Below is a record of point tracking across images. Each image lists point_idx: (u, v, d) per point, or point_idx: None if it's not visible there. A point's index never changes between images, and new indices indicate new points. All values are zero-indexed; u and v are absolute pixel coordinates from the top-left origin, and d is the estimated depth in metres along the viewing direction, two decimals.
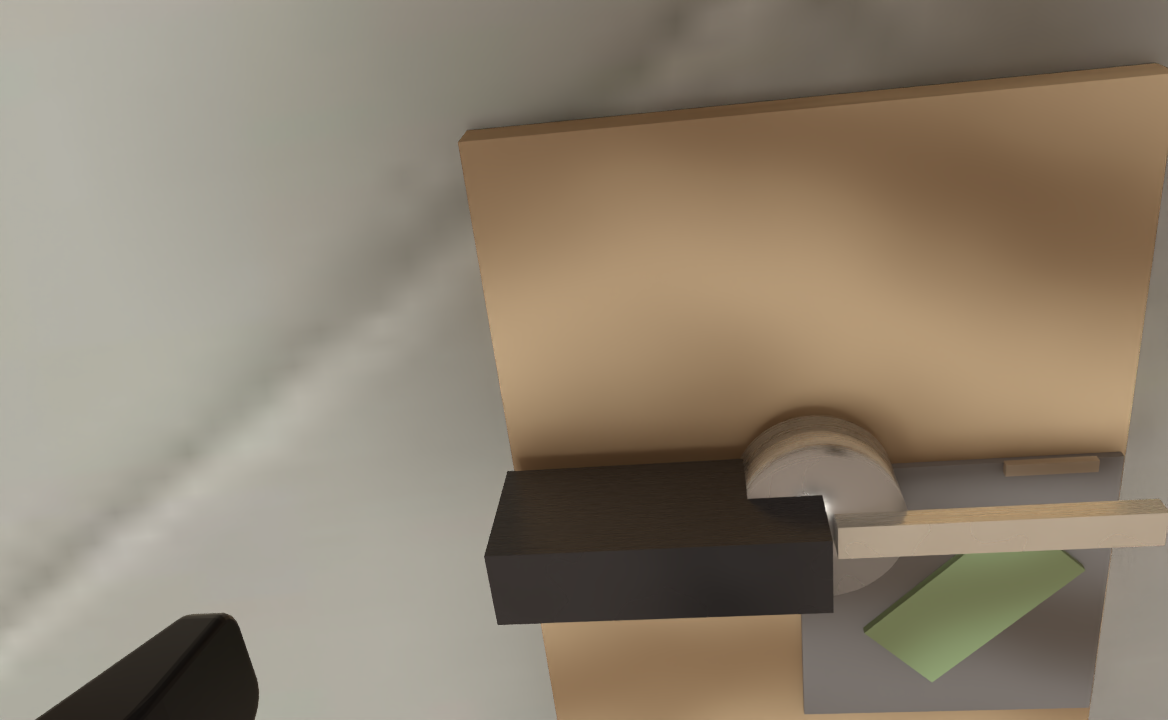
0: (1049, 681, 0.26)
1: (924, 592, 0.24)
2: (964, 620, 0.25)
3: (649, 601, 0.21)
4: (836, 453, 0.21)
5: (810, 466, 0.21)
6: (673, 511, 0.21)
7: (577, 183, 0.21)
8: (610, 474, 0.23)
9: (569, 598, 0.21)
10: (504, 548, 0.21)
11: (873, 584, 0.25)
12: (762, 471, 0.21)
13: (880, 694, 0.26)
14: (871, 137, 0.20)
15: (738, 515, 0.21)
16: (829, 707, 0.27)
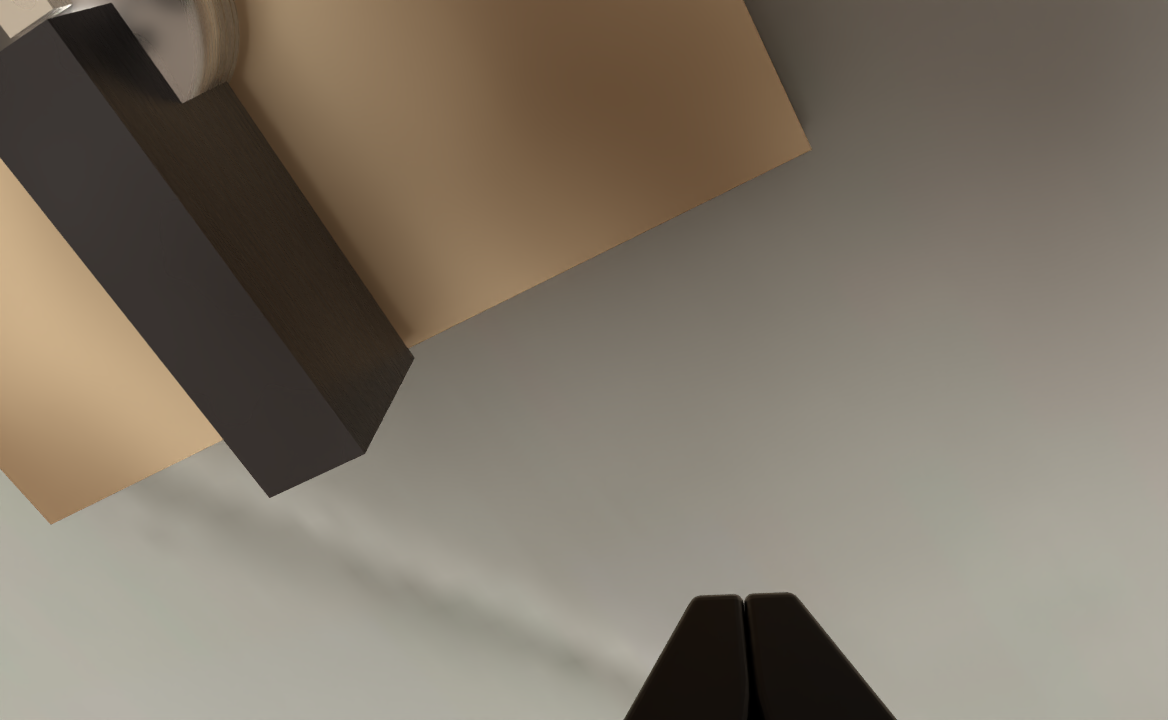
0: None
1: None
2: None
3: (203, 284, 0.14)
4: None
5: None
6: None
7: (10, 416, 0.20)
8: None
9: (266, 384, 0.15)
10: None
11: None
12: None
13: None
14: None
15: None
16: None
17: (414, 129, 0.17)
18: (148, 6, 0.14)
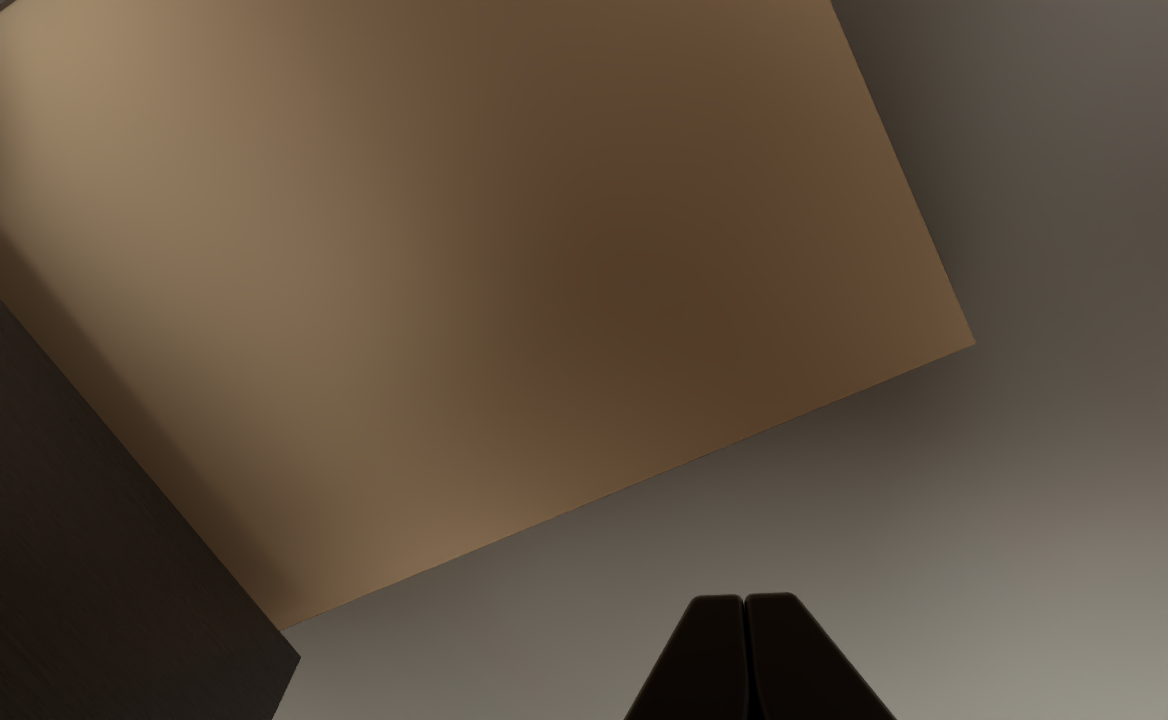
0: None
1: None
2: None
3: None
4: None
5: None
6: None
7: None
8: None
9: None
10: None
11: None
12: None
13: None
14: None
15: None
16: None
17: (288, 301, 0.10)
18: None
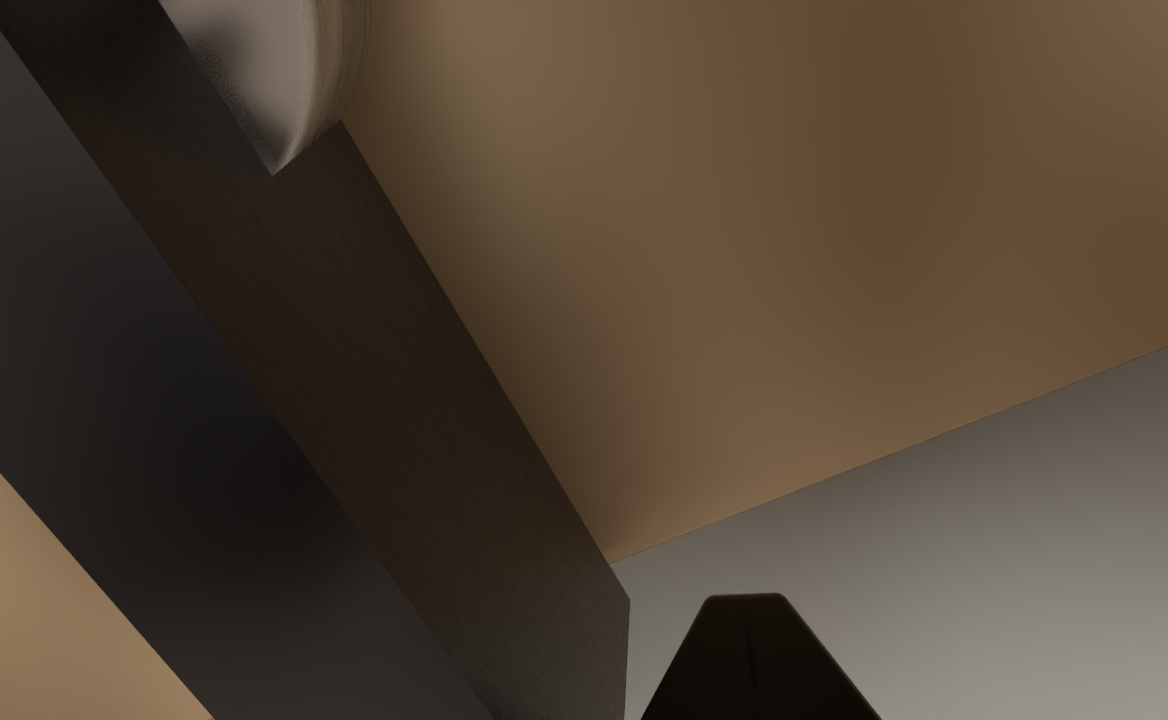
0: None
1: None
2: None
3: (317, 586, 0.06)
4: None
5: None
6: None
7: None
8: None
9: None
10: None
11: None
12: None
13: None
14: None
15: None
16: None
17: (679, 200, 0.09)
18: None
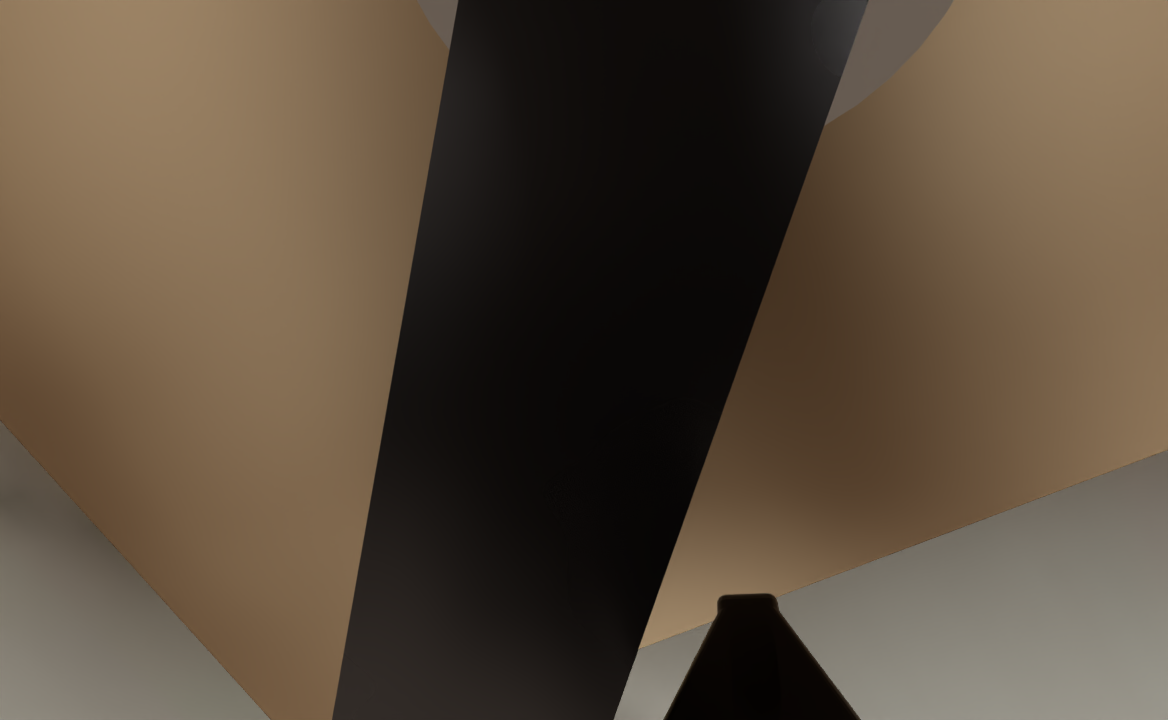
0: None
1: None
2: None
3: (588, 553, 0.06)
4: None
5: None
6: None
7: (273, 607, 0.11)
8: None
9: None
10: None
11: None
12: None
13: None
14: None
15: None
16: None
17: None
18: None
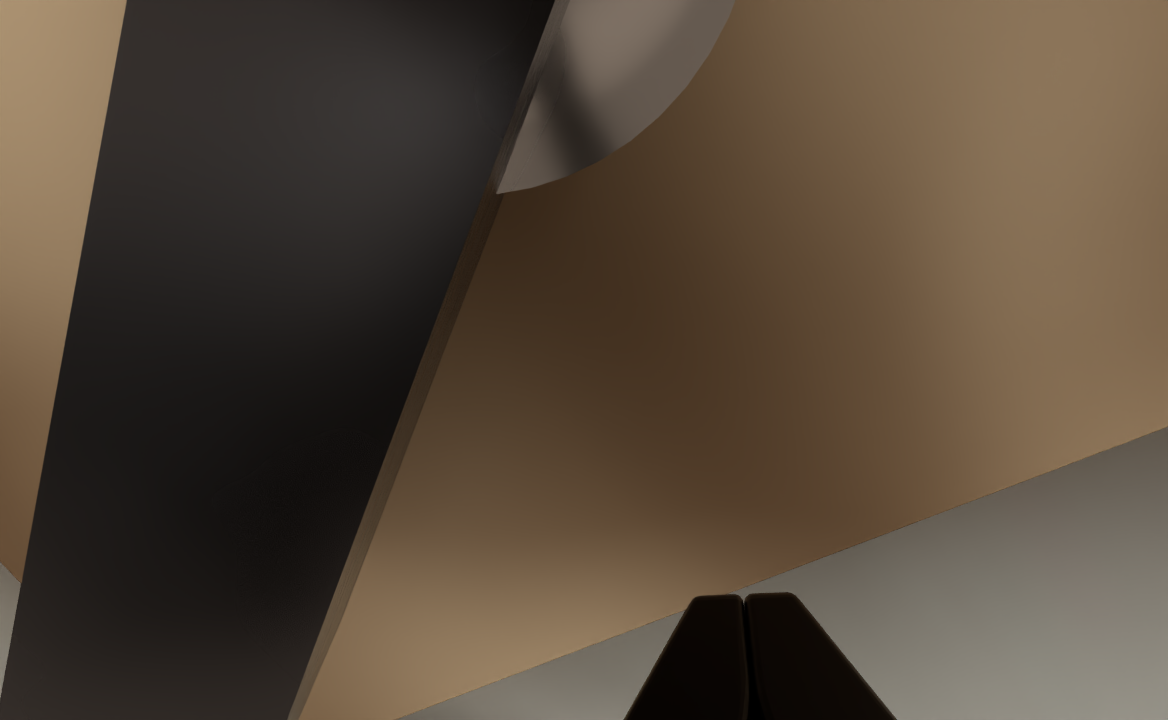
0: None
1: None
2: None
3: (257, 567, 0.06)
4: None
5: None
6: None
7: None
8: None
9: None
10: None
11: None
12: None
13: None
14: None
15: None
16: None
17: (1030, 121, 0.08)
18: (638, 36, 0.06)
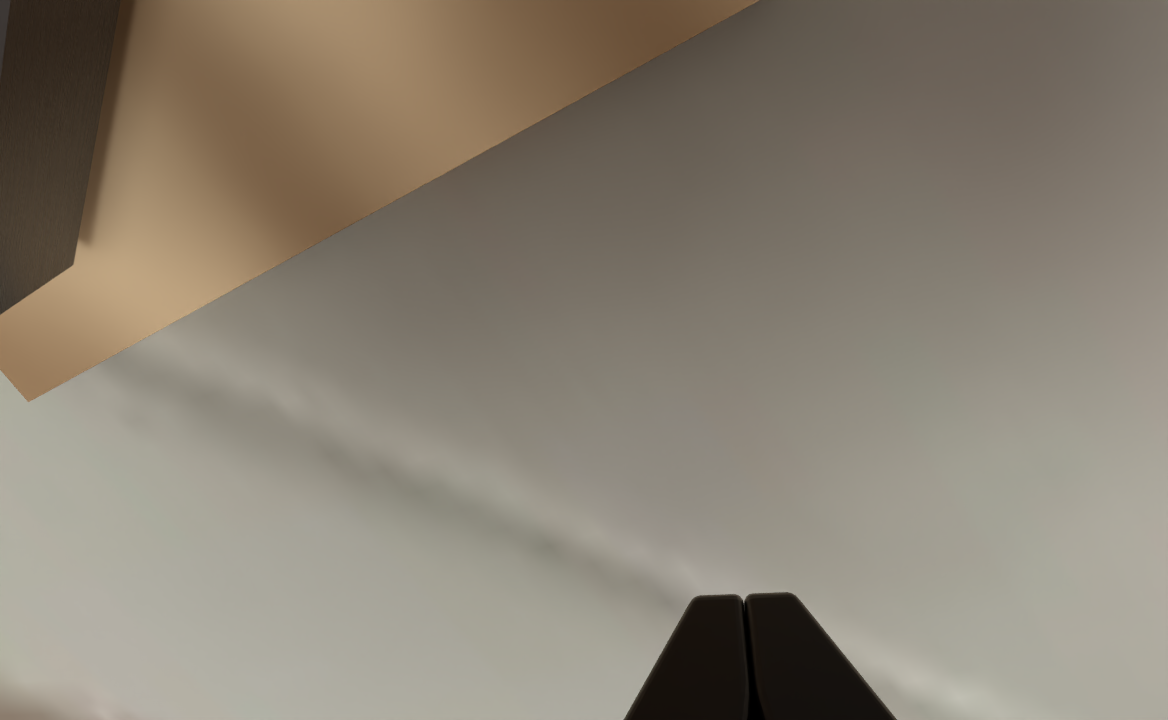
0: None
1: None
2: None
3: None
4: None
5: None
6: None
7: None
8: None
9: None
10: None
11: None
12: None
13: None
14: None
15: None
16: None
17: None
18: None
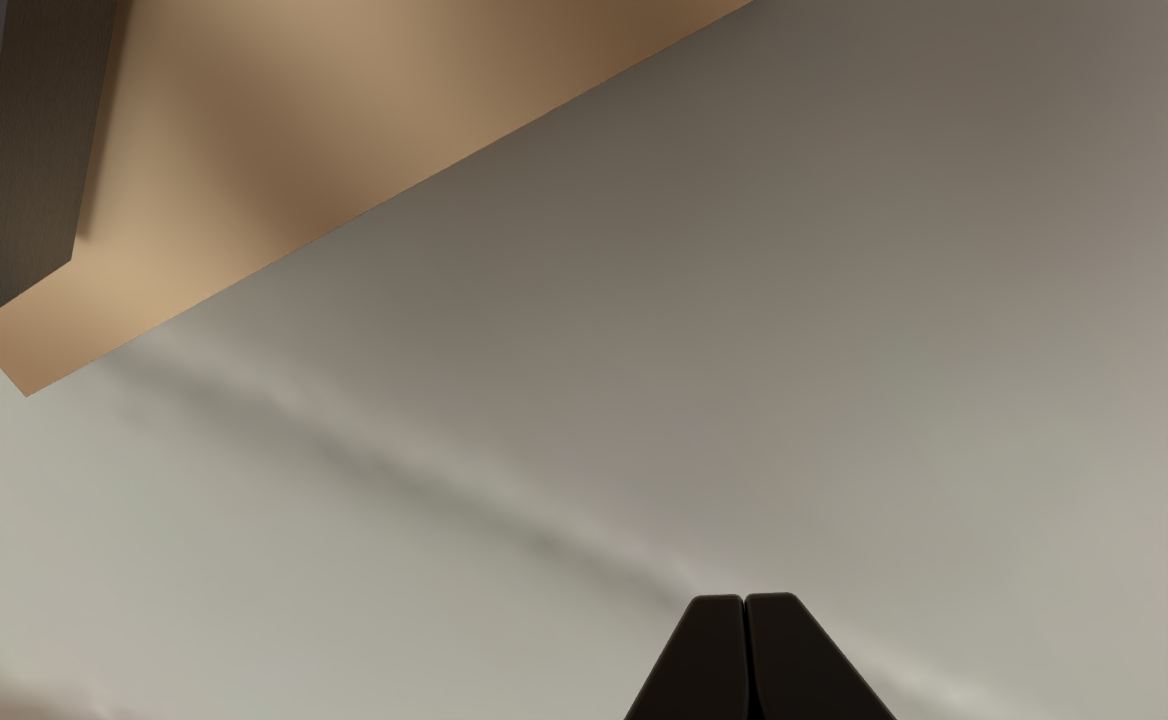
0: None
1: None
2: None
3: None
4: None
5: None
6: None
7: None
8: None
9: None
10: None
11: None
12: None
13: None
14: None
15: None
16: None
17: None
18: None
